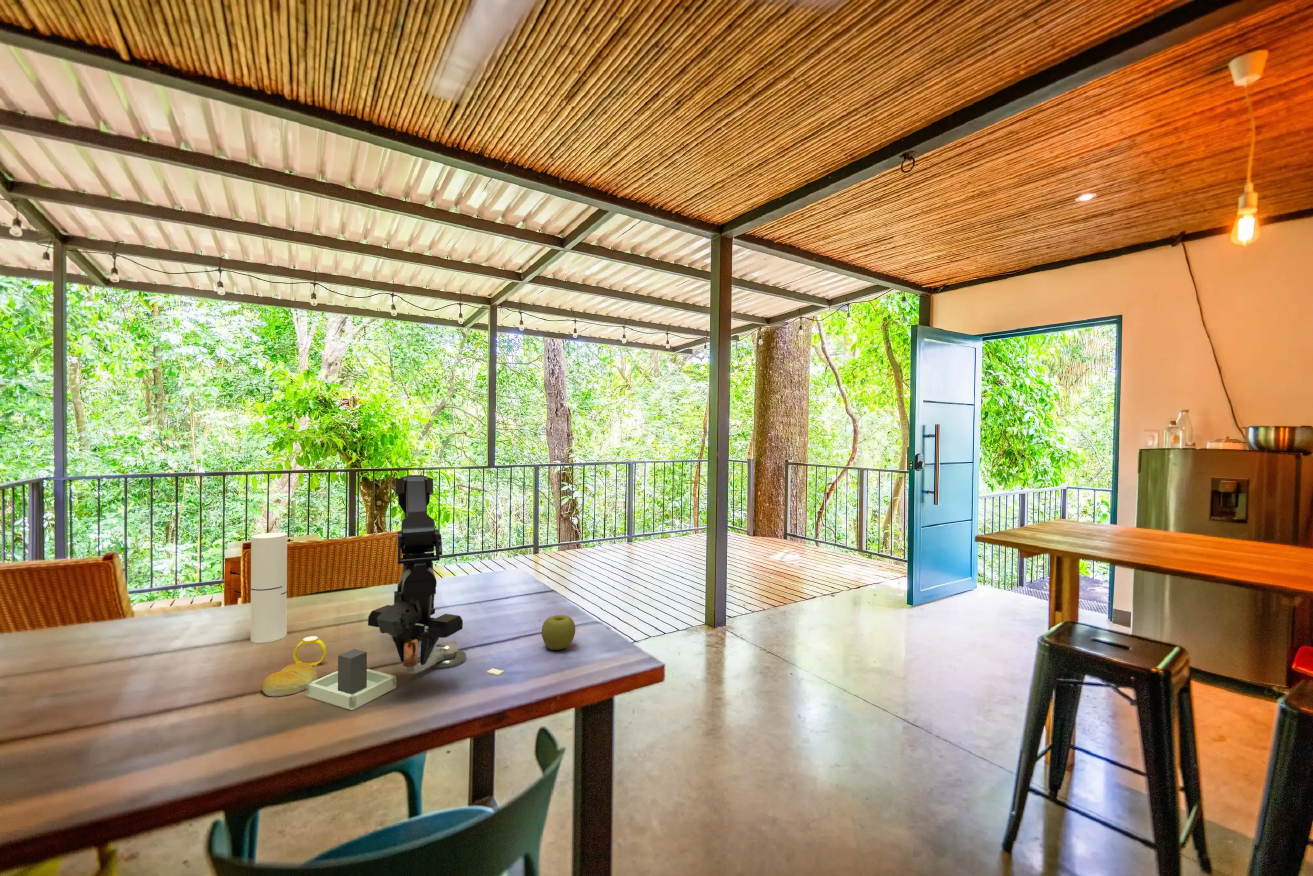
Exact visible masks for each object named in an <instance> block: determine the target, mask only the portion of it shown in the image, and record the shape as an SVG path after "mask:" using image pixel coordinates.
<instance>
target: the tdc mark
mask: <svg viewBox="0 0 1313 876" xmlns="http://www.w3.org/2000/svg"><path fill="white" fill-rule="evenodd" d="M504 672H505V671H504V670H502V669H497V668H493V667H492V668H490V669H488V670H487V671H486V674H490V675H494V676H497V677H498V676H500V675H502V674H503V673H504ZM504 674H505V673H504Z"/></svg>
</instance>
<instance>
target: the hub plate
mask: <svg viewBox="0 0 1313 876" xmlns="http://www.w3.org/2000/svg"><path fill="white" fill-rule="evenodd" d="M466 660H467V653H466V652H465V651H463V650H461V649H457V656H455V657H454V658H451V659H443V660H441V661H439V662H437V663H435V664H433V665H431V666H429V667H428V668H431V669H435V670H437V669H438V670H446V669H451V668H455V667H459V666H460V665H462V664H464V663H465V662H466Z"/></svg>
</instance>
